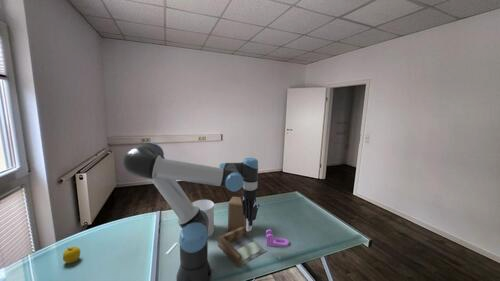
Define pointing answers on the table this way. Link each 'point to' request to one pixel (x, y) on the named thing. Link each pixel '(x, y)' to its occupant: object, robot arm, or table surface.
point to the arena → (239, 246)
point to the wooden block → (235, 214)
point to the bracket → (275, 240)
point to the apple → (71, 254)
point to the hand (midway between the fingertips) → (249, 230)
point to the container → (207, 212)
